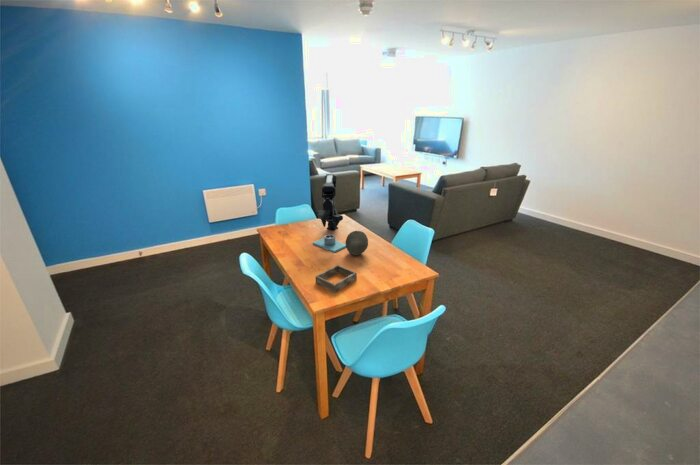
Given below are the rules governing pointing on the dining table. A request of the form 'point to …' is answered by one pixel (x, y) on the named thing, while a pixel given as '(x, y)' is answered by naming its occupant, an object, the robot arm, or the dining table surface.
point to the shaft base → (333, 248)
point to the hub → (329, 240)
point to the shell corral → (339, 285)
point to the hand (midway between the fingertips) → (329, 228)
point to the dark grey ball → (356, 242)
